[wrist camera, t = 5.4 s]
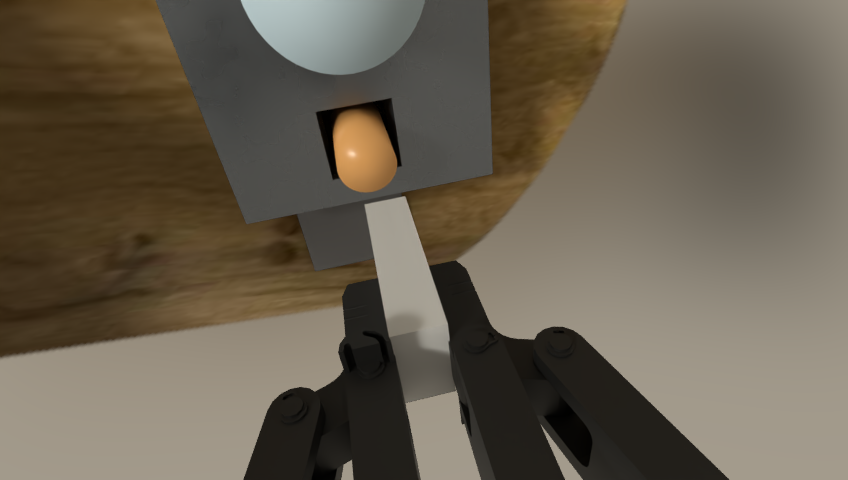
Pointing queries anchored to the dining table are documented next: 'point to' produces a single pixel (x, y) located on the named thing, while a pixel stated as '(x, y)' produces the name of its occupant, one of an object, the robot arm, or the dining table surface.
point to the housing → (335, 105)
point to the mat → (339, 233)
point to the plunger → (362, 147)
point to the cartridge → (335, 31)
